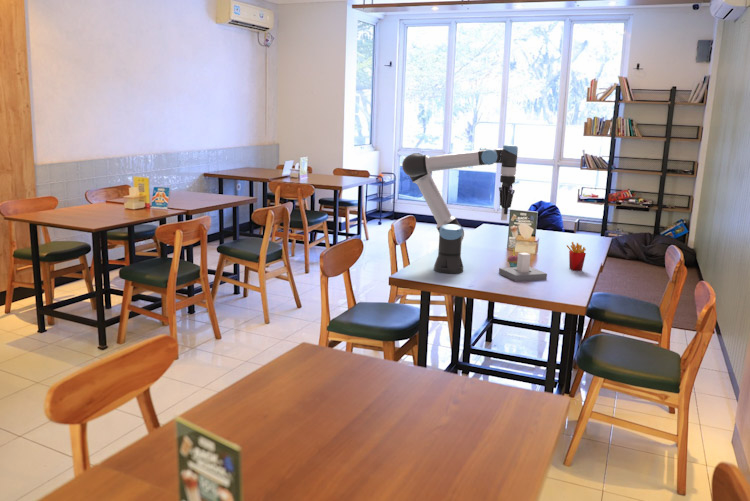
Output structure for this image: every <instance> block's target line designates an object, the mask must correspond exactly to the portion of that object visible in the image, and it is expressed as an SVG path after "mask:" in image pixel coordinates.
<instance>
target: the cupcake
mask: <svg viewBox="0 0 750 501" xmlns="http://www.w3.org/2000/svg"><path fill="white" fill-rule="evenodd" d="M512 251H513V252H512V253H513V255H510V256H508V258H507V262H508V264H509V267H517V260H518V255H515V247H514V246H513V247H512Z"/></svg>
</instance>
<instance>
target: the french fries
mask: <svg viewBox="0 0 750 501" xmlns="http://www.w3.org/2000/svg"><path fill="white" fill-rule="evenodd" d="M566 247H567V249H568V251H569V252H568V253H569V254H568V257H569V258H568V259H569V260H568V261H569V270H571V271H574V272H577V271H579V272H582V271H583V267H584V263H585V259H586V254H587V253H586V252H585V251H586V247H585V246H583V247H582V244H579V242H576V244H575V243H574V241H572V242H571V245H570V246H569V245H568V244H566Z"/></svg>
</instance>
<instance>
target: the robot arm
mask: <svg viewBox="0 0 750 501" xmlns="http://www.w3.org/2000/svg"><path fill="white" fill-rule="evenodd" d="M518 151H519V148H518V146H517V145H515V144H514V145H513V144H504V145H503V146H502V148H496V147H494V148H493V147H480V148H479V150H471V151H464V152H463V151H462V152H455V153H447V154H440V155H433V156H432V155H431V156H429V155H427V154H424V155H423V154H422V153H419V152H414V153H411V154H410V155H407V156H406V157H405V158H404V159H403V160H402V165H401V166H402V171H403V172H404V173H405V174H406V176H408V177H409V178H410V180H411V182H412V183H414V184H416V185H417V187H418V188H419V192H420V193H421V194H422V196H423V198H424V201H425V202H426V204H427V207H428V208H429V210H430V212H431V214H432V215H433V218H434V220H435V221H436V223H437V224H436V229H437V231H438V234H439V235H438V236H439V237H438V249H437V250H438V252H437V253H438V254H437V257H436V260H435V262H434V266H433V270H434V271H435V272H439V273H443V274H460V273H464V265H463V261H462V255H461V254H462V242H463V240H464V238H465V232H464V231H465V230H464V228H463V226H462V225H461V224H460V223H459V221H458V219H457V217H455V216H453V215H452V214H451V212H450V210H449V207H448V206H447V203H445V200H444V198H443V196H442V194H441V193H440V191H439V189H438V187H437V185H436V183H435V182H434V179H433V178H432V173H433V172H435V171H444V170H451V169H460V168H461V169H462V168H467V167H468V168H469V167H478V166H486V165H487V166H491V165H493V164H501V169H500V180H499V181H500V183H501V186H500V187H498V190H499V207H500V206H501V216H500V220H501V221H508V214H509V213H508V212H509V208H511V207H512V202H513V197H514V194H515V191H516V190H515V189H513V184H515V183H516V172H517V162H518V153H519V152H518Z"/></svg>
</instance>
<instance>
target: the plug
mask: <svg viewBox="0 0 750 501" xmlns="http://www.w3.org/2000/svg"><path fill="white" fill-rule="evenodd" d="M517 256H518V260H517V271H518V272H520V273H525V272H529V267H531V253H528V252H518V253H517Z"/></svg>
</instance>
